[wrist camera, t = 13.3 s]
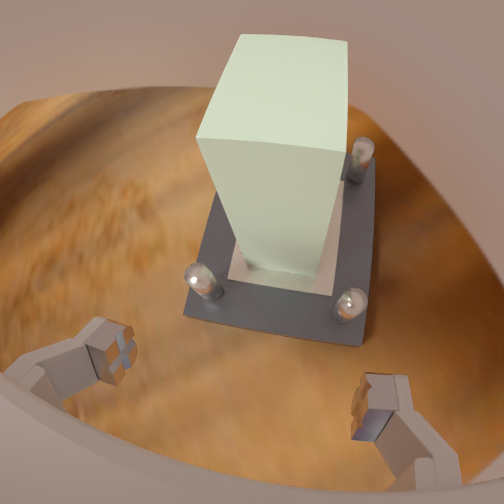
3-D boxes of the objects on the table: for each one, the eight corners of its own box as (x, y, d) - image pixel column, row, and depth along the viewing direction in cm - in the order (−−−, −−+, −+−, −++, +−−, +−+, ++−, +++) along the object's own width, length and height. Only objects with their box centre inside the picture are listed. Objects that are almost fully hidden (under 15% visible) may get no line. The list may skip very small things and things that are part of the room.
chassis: (187, 317, 24) (162, 303, 19) (233, 147, 29) (224, 109, 24) (358, 347, 22) (377, 341, 17) (372, 165, 27) (384, 128, 22)
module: (246, 265, 23) (194, 137, 10) (264, 184, 26) (240, 34, 12) (315, 276, 22) (347, 152, 9) (326, 192, 25) (348, 41, 12)
